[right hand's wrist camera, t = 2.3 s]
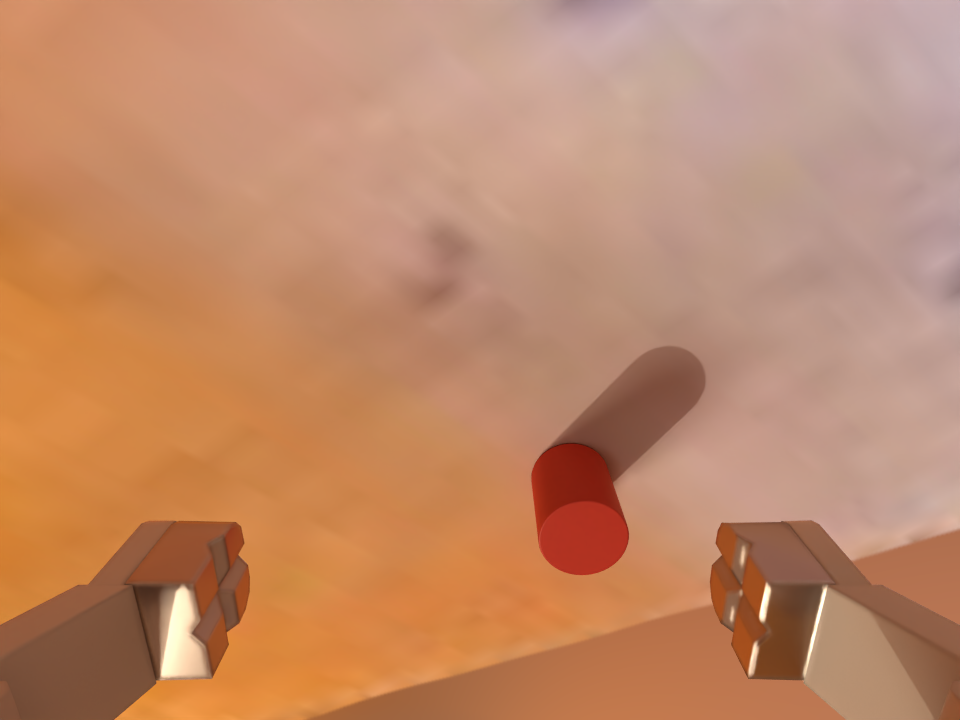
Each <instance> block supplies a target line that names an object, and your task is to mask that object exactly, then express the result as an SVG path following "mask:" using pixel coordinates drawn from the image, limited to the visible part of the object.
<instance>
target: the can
mask: <svg viewBox="0 0 960 720" xmlns="http://www.w3.org/2000/svg"><path fill="white" fill-rule="evenodd" d="M531 479H532V489H533V498H534V506H535V515H536V524H537V532H538V541H539V547H540V550H541V552H542V554H543V556H544V557H545V559H546V560H547V561H548V562H549V563H550V564H551V565H552V566H554V567H555V568H557V569H559V570H561V571H563V572H566V573H569V574H574V575H589V574H594V573H598V572H601V571H603V570H605V569H607V568H609V567H611V566H612V565H613V564H615V563H616V562H617V561H618V560H619V559H620V558H621V556H622V555H623V554H624V552H625V550H626V547H627V544H628V540H629V531H628V527H627V523H626V521H625V518H624V515H623V512H622V509H621V506H620V503H619V500H618V497H617V494H616V491H615V489H614V486H613V483H612V480H611V477H610V474H609V471H608V468H607V465H606V463H605V461H604V460H603V458H602V457H601V456H600V455H599V454H598V453H597V452H596V451H595V450H593V449H591V448H589V447H587V446H584V445H580V444H562V445H559V446H556V447H553V448H551V449H549V450H548V451H546V452H545V453H544V454H543V455H542V456H541V457H540V458H539V459H538V460H537V462H536V463H535V465H534V468H533V471H532V477H531Z"/></svg>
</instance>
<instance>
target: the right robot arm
mask: <svg viewBox="0 0 960 720" xmlns="http://www.w3.org/2000/svg"><path fill="white" fill-rule="evenodd" d="M243 545H244V539H243V534H242V529H241V526H240V525H238V524H237V523H236V522H207V521H178V522H177V521H148V522H145V523H142V524H141V525H140V526H139V527H138V528H137V529H136V530H135V532H134V533H133V534H132V535H131V536H130V537H129V538H128V540H127V541H126V542H125V543H124V544H123V545H122V547H121V548H120V549H119V550H118V551H117V552H116V553H115V555H114V556H113V557H112V558H111V559H110V560H109V561H108V563H107V564H106V565H105V566H104V567H103V568H102V569H101V571H100V572H99V573H98V574H97V575H96V576H95V577H94V579H93V580H92V581H91V582H90V583H89V584H88V585H77V586H75V587H73V588H71V589H69V590H67V591H66V592H64V593H62V594H60V595H58V596H56V597H54V598H52V599H50V600H48V601H46V602H44V603H42V604H40V605H38V606H36V607H34V608H32V609H31V610H29V611H27V612H25V613H23V614H21V615H19V616H17V617H15V618H13V619H11V620H9V621H7V622H5V623H3V624H1V625H0V720H114V719H115V718H116V717H118V716H119V715H120V714H121V713H122V712H123V711H125V710H126V709H127V708H128V707H129V706H130V705H132V704H133V703H134V702H135V701H136V700H137V699H139V698H140V697H141V696H142V695H143V694H145V693H146V692H147V691H148V690H149V689H150V688H152V687H153V686H154V685H155V684H156V680H187V679H212V677H213V675H214V673H215V671H216V669H217V667H218V665H219V663H220V661H221V659H222V657H223V655H224V653H225V651H226V649H227V647H228V645H229V643H228V638H227V632H228V631H229V630H230V629H232V628H233V627H235V626H236V625H237V624H239V623H240V620H241V618H242V616H243V614H244V612H245V610H246V605H247V601H248V596H249V592H250V575H249V569H248V565H247V564H246V563H245V562H244V561H243V560H242V559H241V558H240V557H239V556H238V554H239V552H240V550H241V548H242V547H243ZM716 545H717V547H718V548H719V550H720V552H721V554H722V556H721V557H720V558H719V559H718V560H717V561H716V562H715V563H714V564H713V565H712V569H711V577H710V588H711V599H712V602H713V606H714V609H715V612H716V614H717V616H718V618H719V620H720V622H721V624H723V625H724V626H726V627H727V628H728V629H730V630H731V631H732V632H733V638H732V643H731V645H732V647H733V649H734V651H735V653H736V655H737V657H738V659H739V661H740V663H741V665H742V667H743V669H744V671H745V673H746V675H747V677H748V679H772V680H804V684H805V685H806V686H808V687H809V688H810V689H811V690H812V691H813V692H815V693H816V694H817V695H818V696H819V697H820V698H822V699H823V700H824V701H825V702H826V703H827V704H829V705H830V706H831V707H832V708H833V709H834V710H836V711H837V712H838V713H839V714H840V715H841V716H843V717H844V718H845V719H846V720H960V625H958V624H956V623H955V622H953V621H951V620H949V619H947V618H945V617H943V616H941V615H939V614H937V613H935V612H933V611H931V610H929V609H927V608H925V607H924V606H922V605H920V604H918V603H916V602H914V601H912V600H910V599H908V598H906V597H904V596H902V595H900V594H898V593H896V592H894V591H893V590H891V589H889V588H887V587H885V586H883V585H872V584H871V583H870V582H869V581H868V580H867V579H866V577H865V576H864V575H863V574H862V573H861V572H860V571H859V569H858V568H857V567H856V566H855V565H854V564H853V563H852V561H851V560H850V559H849V558H848V557H847V556H846V555H845V553H844V552H843V551H842V550H841V549H840V548H839V547H838V545H837V544H836V543H835V542H834V541H833V540H832V539H831V537H830V536H829V535H828V534H827V533H826V532H825V531H824V529H823V528H822V527H821V526H820V525H819V524H818V523H816V522H814V521H812V520H808V521H781V522H748V523H721V525H720V527H719V529H718V532H717V538H716Z"/></svg>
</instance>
